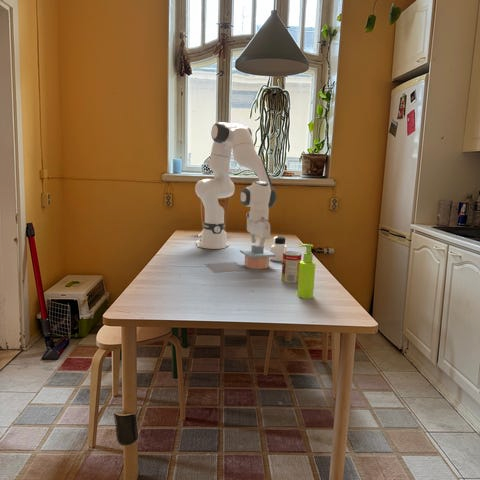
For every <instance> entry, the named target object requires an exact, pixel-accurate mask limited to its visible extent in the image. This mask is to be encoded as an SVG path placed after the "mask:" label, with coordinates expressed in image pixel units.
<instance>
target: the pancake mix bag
mask: <svg viewBox="0 0 480 480" xmlns="http://www.w3.org/2000/svg"><path fill="white" fill-rule="evenodd" d="M218 203H219V205H220V206H221V207H223V209H224V223H225V228H224V231H225V232H226V233H227V231H226V225H227V216H228V212H229V211H228V210H229V205H230V204H229V203H230V197H227V198H218ZM200 215H201V228H202V230H203V229H204V228H203V225H204V222H205V209H204V205H203V202H202V200H201V199H200ZM202 230H201V231H202Z"/></svg>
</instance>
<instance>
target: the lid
mask: <svg viewBox="0 0 480 480" xmlns="http://www.w3.org/2000/svg"><path fill="white" fill-rule="evenodd" d="M239 253H242V254H243V255H244V256H245V255H246V256H248V257H249V258H258V257H275V256H276V255H275V254H273V253H271V252H270V251H269V250H267V249H265V247H259V244H257V245H255V244H254V245H251V248H250V249H249V248H248V249H246V248H245V249H239Z"/></svg>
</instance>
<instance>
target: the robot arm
mask: <svg viewBox="0 0 480 480" xmlns="http://www.w3.org/2000/svg"><path fill="white" fill-rule="evenodd" d="M211 127H212V128H211V131H210V133H211V138H212V140H213V142H212V146H211V152H210V156H209V157H210V158H209V166H208V167H209V169H210V171H212V172H213V174H214V175H213V178H204V179H201V180H198V181H197V182H196V184H195V186H194V192H195V194H196V195H197V197H198V198H200V201H201V200H202V202H203V205H204V209H205V222H204V225H203V228H204V229H203V230H201V232H200V233H199V234H197V239H198V240H196V241H195V243H196V244H195V245H197V248H202V249H203V248H204V249H210V250H211V249H212V250H219V249H225V248H227V247H230V244H229V243H228V242H227V241H228V240H227V239H228V238H227V231H226V230H225V231H226V232H225V231H224V228H225V229H226V226H225V223H224V209H223V207H221V206H220V205H219V203H218V198H227V197H229V198H230V197H232V196H233V195H234V194H235V189H236V187H235V184H234V181H232V179H231V177H230V165H231V164H230V162H231V157H232V155H233V159H234V161H235V162H236V163H237V164H238V165H239V166H241V167H244V168H246V169H249V170H250V171H252V172H254V173H255V174H256V176H257V180H254V181H253V182H252V183H251V185H249V186H247V187H244V188H242V189H241V191H240V192H239V193H240V194H239V202H240V203H241V205H242V206H244V207H250V209H249V211H248V212H246V230H247V232H248V233H250V240H251V241H250V242H251V243H252V244H255V243H257V242H256V240H257V239H256V237H258V238H259V240H260V241H259V243H258V245H259V247H264V244H265V242H266V240H269V239H270V237H271V224H270V222H269V214H270V213H269V212H270V208H272V207H273V206H274V205H275V204H276V202H277V199H278V195H277V194H278V193H277V192H276V190H275V188H274V186H273V184H272V181H271V179H270V175H269V172H268V170H267V166H266V164H265V162H264V160H263V159H262V158H261V157H260V155H258V152H257V151H256V148H255V145H254V140H253V134H252V133H253V132H252V129H251V128H250V127H249V126H246V125H243V124H239V123H233V122H230V123H229V122H221V121H220V122H219V121H218V122H216V123H214V124H213V125H212V126H211ZM264 248H265V247H264Z"/></svg>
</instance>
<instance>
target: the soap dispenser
mask: <svg viewBox="0 0 480 480" xmlns="http://www.w3.org/2000/svg"><path fill="white" fill-rule="evenodd" d="M297 245H298V247H299V248H302V247H305V248H306V251H305V252H304V253H303V259H302V260H301V261H300V265H299V279H298V283H297V294H296V295H297V296H298V298H301V299H312V298H313V297H314V286H315V276H316V266H317V265H316V262H315V261H313V258H314V254H313V253H312V248H314V245H313V244H312V243H311V244H310V243H300V244H297Z"/></svg>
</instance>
